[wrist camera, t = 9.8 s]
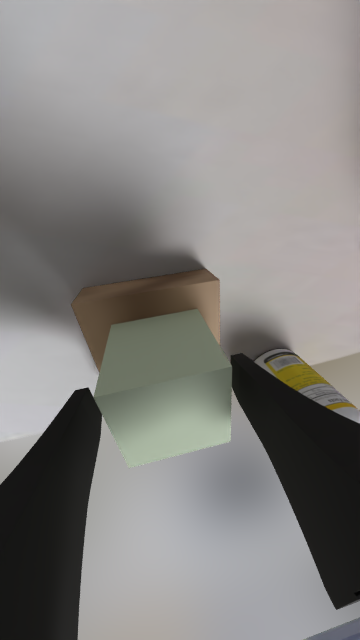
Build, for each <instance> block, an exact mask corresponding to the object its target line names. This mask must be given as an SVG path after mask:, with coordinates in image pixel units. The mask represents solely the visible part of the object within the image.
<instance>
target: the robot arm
mask: <svg viewBox="0 0 360 640" xmlns="http://www.w3.org/2000/svg"><path fill="white" fill-rule="evenodd" d="M231 365H232V388H233V391H234V393H235V395H236V397H237V400H238V402H239V404H240V406H241V407H242V409H243V411H244V413H245V414H246V416H247V418H248V420H249V421H250V423H251V425H252V427H253V428H254V430H255V432H256V433H257V435H258V437H259V439H260V441H261V442H262V444H263V446H264V448H265V450H266V452H267V454H268V455H269V458H270V460H271V462H272V464H273V466H274V469H275V470H276V473H277V475H278V477H279V479H280V482H281V484H282V486H283V488H284V491H285V493H286V495H287V497H288V499H289V502H290V504H291V506H292V509H293V511H294V513H295V516H296V518H297V520H298V523H299V525H300V527H301V530H302V532H303V534H304V537H305V539H306V542H307V544H308V547H309V549H310V552H311V554H312V556H313V559H314V561H315V564H316V566H317V569H318V571H319V574H320V577H321V579H322V582H323V584H324V587H325V589H326V591H327V593H328V595H329V597H330V599H331V601H332V603H333V605H334V607H335V608H336V610H337V609H340V608H343V607H345V606H348V605H350V604H353V603H356V602H358V601H360V424H359V423H357V422H355V421H353V420H351V419H349V418H347V417H344V416H342V415H340V414H338V413H336V412H334V411H332V410H330V409H328V408H327V407H325V406H323V405H321V404H319V403H317V402H315V401H314V400H312V399H310V398H308V397H306V396H305V395H303V394H301V393H300V392H298V391H296V390H295V389H293V388H292V387H290V386H288V385H287V384H285V383H284V382H282V381H281V380H279V379H278V378H276V377H275V376H273V375H272V374H270V373H269V372H268V371H266V370H265V369H263V368H262V367H261V366H259V365H258V364H256V363H255V362H254V361H252V360H251V359H250V358H248V357H247V356H245V355H244V354H243V353H240V354H235V355H231ZM101 422H102V413H101V411H100V409H99V407H98V405H97V403H96V401H95V400H94V398H93V396H92V394H91V392H90V390H89V388H84V389H79V390H75V391H74V393H73V394H72V395H71V397H70V398H69V399H68V401H67V402H66V404H65V405H64V406H63V408H62V409H61V410H60V412H59V413H58V414H57V416H56V417H55V418H54V420H53V421H52V422H51V424H50V425H49V426H48V428H47V429H46V430H45V432H44V433H43V434H42V436H41V437H40V438H39V439H38V441H37V442H36V443H35V444H34V446H33V447H32V448H31V449H30V451H29V452H28V453H27V454H26V455H25V457H24V458H23V459H22V460H21V462H20V463H19V464H18V465H17V466H16V468H15V469H14V470H13V471H12V472H11V473H10V474H9V476H8V477H7V478H6V479H5V480H4V481H3V482H2V484H1V485H0V640H77V637H78V616H79V598H80V583H81V570H82V558H83V546H84V536H85V526H86V517H87V508H88V500H89V494H90V488H91V483H92V478H93V473H94V468H95V462H96V457H97V452H98V447H99V441H100V435H101ZM303 640H360V618H358V619H355V620H352V621H350V622H347V623H345V624H342V625H339V626H337V627H334V628H332V629H329V630H327V631H324V632H321V633H319V634H316V635H314V636H311V637H309V638H306V639H303Z"/></svg>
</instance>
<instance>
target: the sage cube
mask: <svg viewBox="0 0 360 640" xmlns="http://www.w3.org/2000/svg"><path fill="white" fill-rule="evenodd" d="M231 392H232V365H231V364H230V362H229V360H228V359H227V357H226V355H225V354H224V352H223V350H222V349H221V347H220V345H219V344H218V342H217V340H216V339H215V337H214V335H213V334H212V332H211V330H210V329H209V327H208V325H207V324H206V322H205V320H204V319H203V317H202V315H201V314H200V312H199V310H198V309H193V310H188V311H183V312H177V313H172V314H167V315H161V316H156V317H151V318H145V319H140V320H135V321H129V322H124V323H119V324H113V325H111V328H110V332H109V336H108V340H107V344H106V348H105V353H104V357H103V361H102V365H101V369H100V373H99V377H98V381H97V385H96V389H95V393H94V399H95V401H96V403H97V405H98V407H99V409H100V411H101V413H102V415H103V417H104V419H105V421H106V423H107V425H108V427H109V429H110V431H111V433H112V435H113V437H114V439H115V441H116V443H117V445H118V447H119V449H120V451H121V453H122V455H123V457H124V459H125V461H126V463H127V465H128V467H129V468H131V467H135V466H139V465H143V464H146V463H150V462H154V461H158V460H161V459H166V458H169V457H173V456H177V455H181V454H185V453H189V452H192V451H196V450H199V449H204V448H208V447H211V446H215V445H219V444H222V443H227V442H230V439H231V437H230V436H231V396H232V395H231Z"/></svg>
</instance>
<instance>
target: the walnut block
mask: <svg viewBox="0 0 360 640" xmlns="http://www.w3.org/2000/svg"><path fill="white" fill-rule="evenodd" d="M71 306H72V308H73V311H74V313H75V316H76V318H77V320H78V323H79V325H80V327H81V330H82V332H83V335H84V337H85V339H86V342H87V344H88V347H89V349H90V351H91V354H92V356H93V359H94V361H95V363H96V366H97V368H98V370H99V373H100V369H101V365H102V361H103V357H104V353H105V348H106V344H107V340H108V336H109V332H110V328H111V325H113V324H119V323H124V322H129V321H135V320H140V319H145V318H151V317H156V316H161V315H167V314H172V313H177V312H183V311H188V310H193V309H198V310H199V312H200V314H201V315H202V317H203V319H204V320H205V322H206V324H207V325H208V327H209V329H210V330H211V332H212V334H213V335H214V337H215V339H216V340H217V342H218V344H219V345H220V280H219V279H218V278H217V277H215V276H214V275H213V274H212V273H211V272H209V271H208V270H207V269H201V270H194V271H188V272H182V273H176V274H169V275H163V276H157V277H150V278H144V279H138V280H131V281H125V282H119V283H112V284H106V285H100V286H93V287H87V288H83V289H82V290H81V292H80V293H79V294H78V296H77V297H76V298H75V300H74V301H73V302H72V304H71Z"/></svg>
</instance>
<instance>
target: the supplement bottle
mask: <svg viewBox="0 0 360 640" xmlns="http://www.w3.org/2000/svg"><path fill="white" fill-rule="evenodd" d="M254 362H255V363H256V364H258V365H259V366H261V367H262V368H263V369H265V370H266V371H268V372H269V373H270V374H272V375H273V376H275V377H276V378H278V379H279V380H281V381H282V382H284V383H285V384H287V385H288V386H290V387H292V388H293V389H295V390H296V391H298V392H300V393H301V394H303V395H305V396H306V397H308V398H310V399H312V400H314V401H315V402H317V403H319V404H321V405H323V406H325V407H327V408H328V409H330V410H332V411H334V412H336V413H338V414H340V415H342V416H344V417H347V418H349V419H351V420H353V421H355V422H357V423H359V424H360V410H358V409H357V408H356V407H355V406H354V405H353V404H352V403H350V402H349V401H348V400H347V399H346V398H345V397H344V396H343V395H342V394H340V393H339V392H338V391H337V390H336V389H335V388H334V387H333V386H332V385H330V384H329V383H328V382H327V381H326V380H325V379H324V378H323V377H321V376H320V375H319V374H318V373H317V372H316V371H315V370H313V369H312V368H311V367H310V366H309V365H308V364H307V363H306V362H304V361H303V360H302V359H301V358H300V357H299V356H297V355H296V354H295V353H293V352H292V351H290V350H287V349H275V350H271V351H269V352H266V353H265V354H263V355H261V356H260V357H259V358H257V359H256V360H255V361H254Z"/></svg>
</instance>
